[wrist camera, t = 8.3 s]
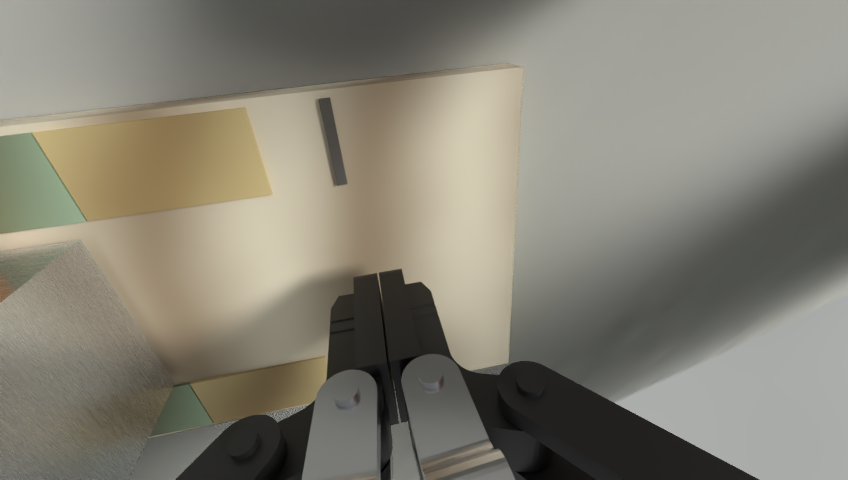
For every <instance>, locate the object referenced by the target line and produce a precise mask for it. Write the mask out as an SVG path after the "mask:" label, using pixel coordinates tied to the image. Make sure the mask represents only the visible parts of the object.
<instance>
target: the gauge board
mask: <svg viewBox="0 0 848 480" xmlns="http://www.w3.org/2000/svg"><path fill="white" fill-rule="evenodd" d="M523 73H524V67H523V66H518V65H514V64H509V63H505V64H496V65H487V66H478V67H469V68H460V69H452V70H443V71H434V72H425V73H416V74H407V75H399V76H390V77H381V78H372V79H363V80H354V81H346V82H337V83H328V84H319V85H310V86H301V87H293V88H284V89H275V90H266V91H257V92H248V93H240V94H231V95H222V96H213V97H204V98H195V99H187V100H178V101H169V102H160V103H151V104H142V105H134V106H125V107H116V108H107V109H98V110H89V111H81V112H72V113H63V114H54V115H45V116H36V117H28V118H19V119H10V120H1V121H0V251H5V250H12V249H18V248H25V247H32V246H38V245H45V244H52V243H59V242H65V241H72V240H79V239H81V241H82V242H83V244H84V245H85V247H86V248H87V250H88V251H89V253H90V254H91V256H92V258H93V259H94V261H95V262H96V264H97V265H98V267H99V268H100V270H101V271H102V273H103V274H104V276H105V277H106V279H107V280H108V282H109V283H110V285H111V286H112V288H113V289H114V291H115V292H116V294H117V295H118V297H119V299H120V300H121V302H122V303H123V305H124V306H125V308H126V309H127V311H128V312H129V314H130V315H131V317H132V318H133V320H134V321H135V323H136V324H137V326H138V327H139V329H140V330H141V332H142V333H143V335H144V336H145V338H146V340H147V341H148V343H149V344H150V346H151V347H152V349H153V350H154V352H155V353H156V355H157V356H158V358H159V359H160V361H161V362H162V364H163V365H164V367H165V368H166V370H167V371H168V373H169V374H170V376H171V377H172V379H173V381H174V382H175V385H174V387H173V389H172V391H171V393H170V395H169V397H168V399H167V401H166V403H165V406H164V408H163V410H162V412H161V414H160V416H159V418H158V420H157V422H156V424H155V426H154V428H153V430H152V432H151V435H150V437H149V438H153V437H158V436H162V435H167V434H172V433H177V432H181V431H186V430H191V429H196V428H201V427H205V426H210V425H215V424H220V423H224V422H229V421H234V420H239V419H243V418H245V417H248V416H252V415H263V414H267V413H272V412H277V411H282V410H286V409H291V408H296V407H301V406H306V405H310V404H311V403H312V402H313V401H314V400H315V399H316V396H317V393H318V391H319V389H320V388H321V386H322V385H323V384H324V383H325V381H326V378H327V363H328V347H329V336H330V333H329V331H330V315H331V308H332V306H333V304H334V303H335V301H336V300H337V298H338V296H342V295H348V294H354V286H353V278H354V277H356V276H362V275H368V274H374V273H377V276H378V281H379V286H380V279H379V272H385V271H391V270H396V269H402V272H403V277H404V281H405V284H410V283H416V282H422V283H423V284H424V285H425V286H426V287H427V288H428V289H429V290H431V293H432V296H433V299H434V303H435V306H436V309H437V312H438V315H439V319H440V322H441V325H442V328H443V331H444V335H445V338H446V341H447V344H448V347H449V351H450V353H451V356H452V357H453V359H454V360H455V361H456V362H457V363H458V364H459V365H460V366H461V367H463V368H465V369H467V370H469V371H473V370H477V369H482V368H487V367H492V366H497V365H501V364H506V363H508V362H509V343H510V323H511V304H512V285H513V266H514V247H515V227H516V208H517V189H518V170H519V150H520V131H521V112H522V93H523ZM380 292H381V287H380ZM381 297H382V295H381ZM394 387H395V386H394Z"/></svg>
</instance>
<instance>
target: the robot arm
mask: <svg viewBox="0 0 848 480" xmlns="http://www.w3.org/2000/svg"><path fill="white" fill-rule="evenodd" d="M379 279H380V286H379V281H378V276H377V273H374V274H368V275H362V276H356V277H354V278H353V286H354V294H348V295H342V296H338V298H337V300H336V301H335V303H334V304H333V306H332V308H331V315H330V331H329V333H330V336H329V347H328V363H327V378H326V381H325V383H324V384H323V385H322V386H321V388H320V389H319V391H318V393H317V396H316V399H315V400H314V401H313V402H312V403H311V404H310V405H309V406H307V407H306V408H305V409H303V410H301V411H299V412H298V413H296V414H294V415H292V416H290V417H288V418H286V419H284V420H282V421H280V422H278V423H277V422H276V421H275V420H274V419H273V418H272V417H269V416H267V415H252V416H248V417H245V418H243V419H241V420H239V421H237V422H235V423H233V424H232V425H231V426H229V427H228V428H227V429H226V430H225V431H224V432H223V433H222V434H221V435H220V436H219V437H218V438H217V439H216V440H215V441H214V442H213V443H212V444H211V445H210V446H209V447H208V448H207V449H206V450H205V451H204V452H203V453H202V454H201V455H200V456H199V457H198V458H197V459H196V460H195V461H194V462H193V463H192V464H191V465H190V466H189V467H188V468H187V469H186V470H185V471H184V472H183V473H182V474H181V475H180V476H179V477H178V478H177V479H176V480H393V456H392V434H391V425H394V424H398V423H399V421H398V413H397V405H396V397H397V402H398V408H399V413H400V418H401V423H402V422H407V421H408V424H409V430H410V435H411V441H412V447H413V453H414V457H415V461H416V466H417V470H418V474H419V479H420V480H759V479H757V478H755V477H753V476H751V475H749V474H747V473H745V472H744V471H742V470H740V469H738V468H736V467H734V466H732V465H730V464H728V463H727V462H725V461H723V460H721V459H719V458H717V457H715V456H713V455H711V454H710V453H708V452H706V451H704V450H702V449H700V448H698V447H696V446H694V445H692V444H691V443H689V442H687V441H685V440H683V439H681V438H679V437H677V436H675V435H674V434H672V433H670V432H668V431H666V430H664V429H662V428H660V427H659V426H657V425H655V424H653V423H651V422H649V421H647V420H645V419H644V418H642V417H639V416H638V415H636V414H634V413H632V412H630V411H628V410H626V409H624V408H622V407H621V406H619V405H617V404H615V403H613V402H611V401H609V400H608V399H606V398H604V397H602V396H600V395H598V394H596V393H594V392H592V391H591V390H589V389H587V388H585V387H583V386H581V385H579V384H577V383H575V382H574V381H572V380H570V379H568V378H566V377H564V376H562V375H560V374H558V373H557V372H555V371H553V370H551V369H549V368H547V367H545V366H543V365H541V364H538V363H535V362H530V361H520V362H515V363H512V364H510V365H508V366H507V367H505V368H504V369H503V370H502V372H501V373H500V375H491V374H481V373H475V372H471V371H469V370H467V369H465V368H463V367H461V366H460V365H459V364H458V363H457V362H456V361H455V360H454V359H453V357H452V356H451V353H450V351H449V347H448V344H447V341H446V338H445V335H444V331H443V328H442V325H441V322H440V319H439V315H438V312H437V309H436V306H435V303H434V299H433V296H432V293H431V290H429V289H428V288H427V287H426V286H425V285H424V284H423V283H422V282H416V283H410V284H405V281H404V277H403V272H402V269H396V270H391V271H385V272H379ZM380 287H381V292H380ZM381 295H382V297H381ZM394 386H395V389H394ZM395 392H396V397H395Z"/></svg>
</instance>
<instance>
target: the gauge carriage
mask: <svg viewBox="0 0 848 480" xmlns="http://www.w3.org/2000/svg"><path fill="white" fill-rule="evenodd" d="M174 385H175V382H174V381H173V379H172V377H171V376H170V374H169V373H168V371H167V370H166V368H165V367H164V365H163V364H162V362H161V361H160V359H159V358H158V356H157V355H156V353H155V352H154V350H153V349H152V347H151V346H150V344H149V343H148V341H147V340H146V338H145V336H144V335H143V333H142V332H141V330H140V329H139V327H138V326H137V324H136V323H135V321H134V320H133V318H132V317H131V315H130V314H129V312H128V311H127V309H126V308H125V306H124V305H123V303H122V302H121V300H120V299H119V297H118V295H117V294H116V292H115V291H114V289H113V288H112V286H111V285H110V283H109V282H108V280H107V279H106V277H105V276H104V274H103V273H102V271H101V270H100V268H99V267H98V265H97V264H96V262H95V261H94V259H93V258H92V256H91V254H90V253H89V251H88V250H87V248H86V247H85V245H84V244H83V242H82V241H81V239H79V240H72V241H65V242H59V243H52V244H45V245H38V246H32V247H25V248H18V249H12V250H5V251H0V480H129V478H130V476H131V474H132V472H133V470H134V468H135V466H136V464H137V462H138V459H139V457H140V455H141V453H142V451H143V449H144V447H145V445H146V443H147V441H148V439H149V437H150V435H151V432H152V430H153V428H154V426H155V424H156V422H157V420H158V418H159V416H160V414H161V412H162V410H163V408H164V406H165V403H166V401H167V399H168V397H169V395H170V393H171V391H172V389H173V387H174Z"/></svg>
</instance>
